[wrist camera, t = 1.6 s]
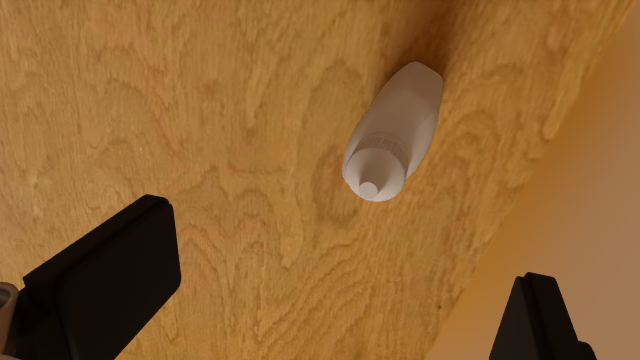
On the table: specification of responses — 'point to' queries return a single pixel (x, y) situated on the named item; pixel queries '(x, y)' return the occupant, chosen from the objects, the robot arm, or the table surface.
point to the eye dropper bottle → (393, 133)
